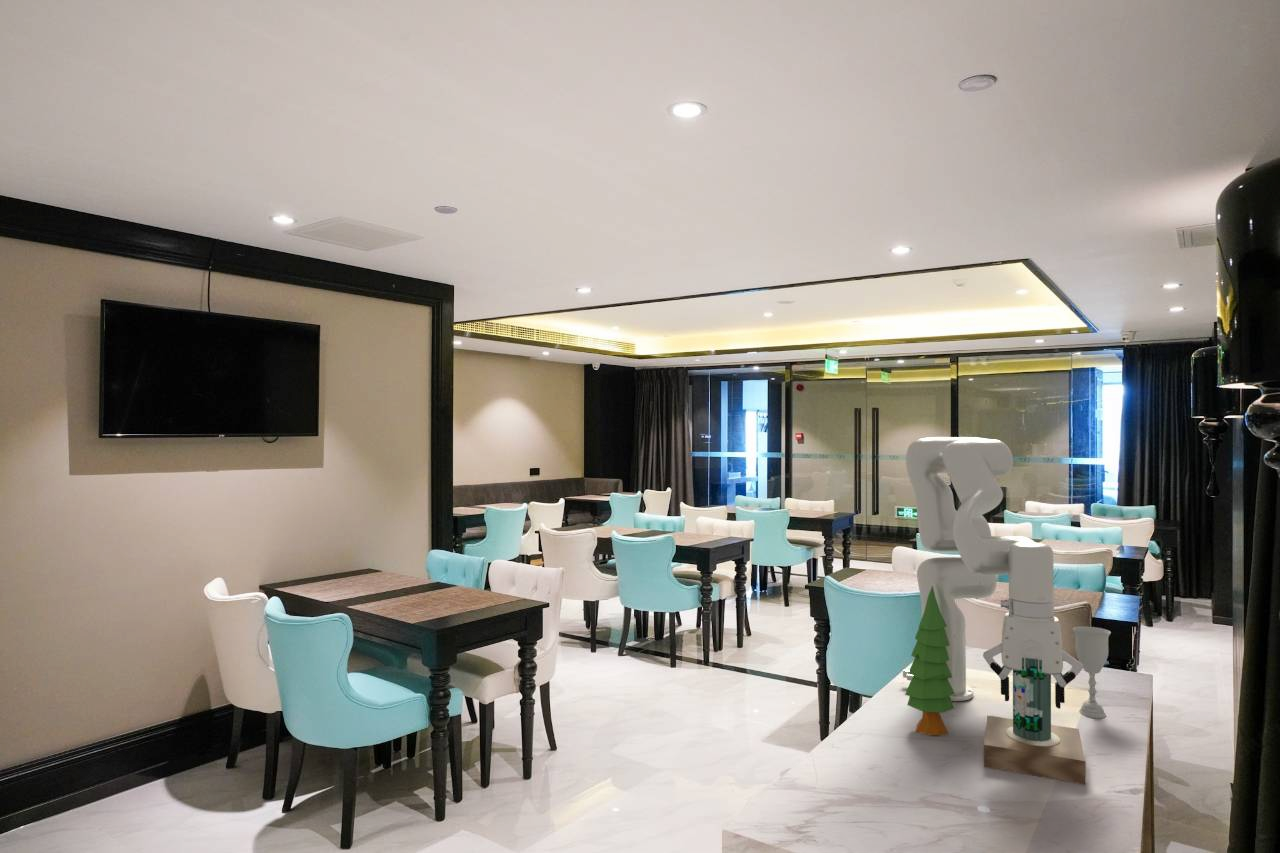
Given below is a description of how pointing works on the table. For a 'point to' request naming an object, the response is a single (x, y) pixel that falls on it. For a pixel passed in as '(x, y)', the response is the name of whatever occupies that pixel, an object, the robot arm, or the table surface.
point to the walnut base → (1035, 752)
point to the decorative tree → (931, 671)
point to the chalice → (1091, 662)
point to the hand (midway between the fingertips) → (1032, 702)
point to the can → (1032, 702)
